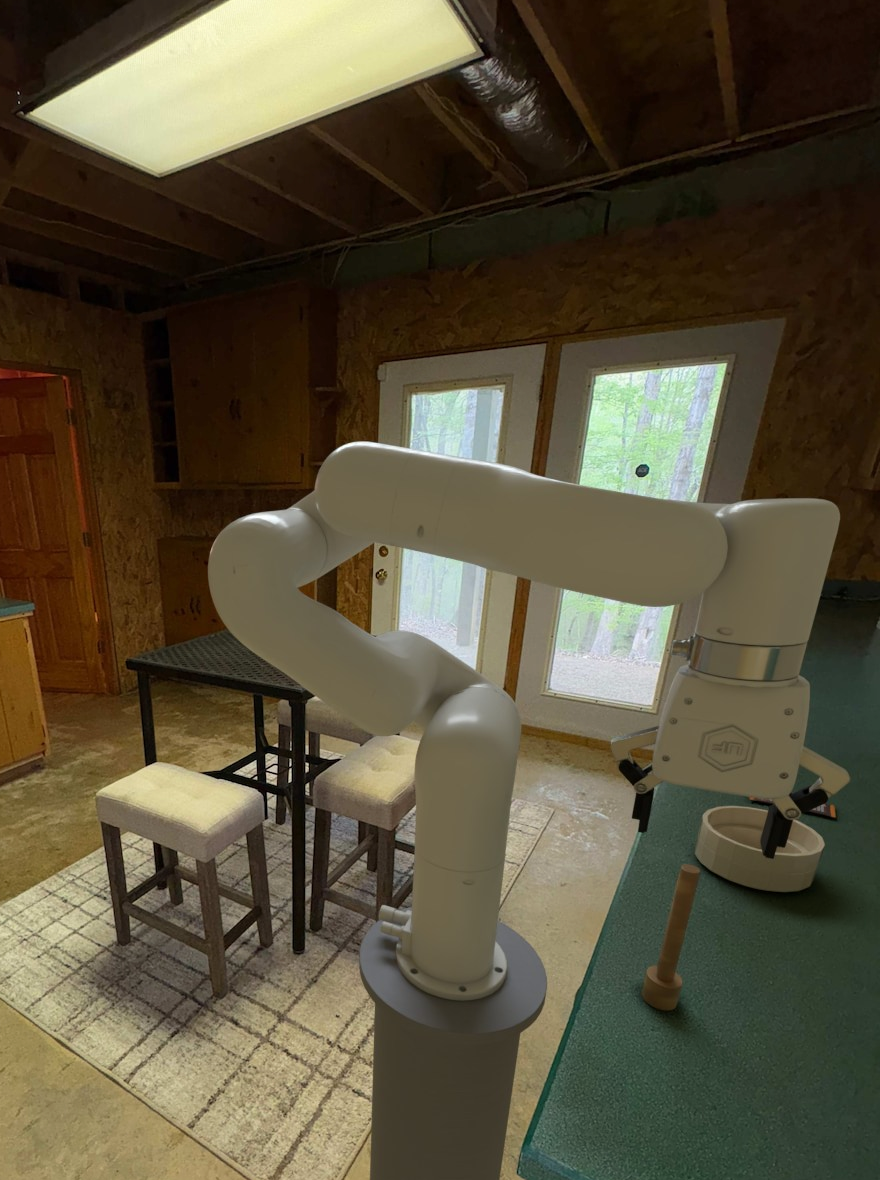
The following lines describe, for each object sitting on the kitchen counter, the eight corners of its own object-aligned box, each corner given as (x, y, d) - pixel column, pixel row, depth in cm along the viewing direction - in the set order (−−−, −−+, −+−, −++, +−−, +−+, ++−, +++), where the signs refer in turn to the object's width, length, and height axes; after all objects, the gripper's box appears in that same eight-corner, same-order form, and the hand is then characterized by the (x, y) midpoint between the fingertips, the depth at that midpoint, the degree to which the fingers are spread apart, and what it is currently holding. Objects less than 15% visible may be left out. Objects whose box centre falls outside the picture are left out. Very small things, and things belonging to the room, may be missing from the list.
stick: (640, 1003, 64) (670, 872, 58) (642, 983, 67) (671, 856, 61) (676, 1015, 63) (711, 881, 57) (676, 994, 65) (710, 864, 59)
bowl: (694, 878, 84) (704, 839, 82) (693, 833, 94) (701, 798, 92) (819, 907, 78) (833, 866, 75) (803, 856, 88) (815, 818, 86)
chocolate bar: (834, 807, 100) (835, 803, 100) (835, 819, 97) (836, 815, 96) (750, 790, 106) (751, 786, 106) (748, 801, 103) (749, 797, 103)
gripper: (622, 659, 53) (594, 835, 59) (896, 681, 44) (829, 884, 50) (628, 640, 59) (602, 802, 65) (871, 657, 50) (814, 841, 56)
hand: (701, 838), depth 58 cm, fingers open, 9 cm apart
